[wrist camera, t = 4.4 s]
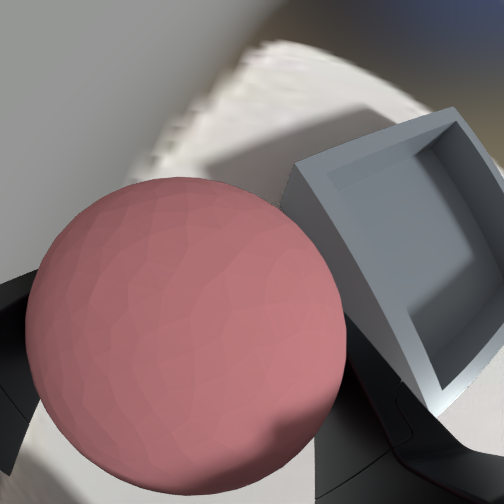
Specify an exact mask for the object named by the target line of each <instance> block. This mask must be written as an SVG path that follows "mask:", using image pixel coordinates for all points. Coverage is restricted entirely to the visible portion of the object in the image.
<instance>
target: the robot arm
mask: <svg viewBox="0 0 504 504" xmlns="http://www.w3.org/2000/svg"><path fill="white" fill-rule="evenodd" d="M37 272H38V269H37V270H34V271H32V272H29V273H27V274H24V275H22V276H19V277H17V278H15V279H12V280H10V281H7V282H5V283H3V284H0V470H1V471H2V472H4V473H5V474H7V475H8V476H10V475H11V472H12V470H13V467H14V464H15V461H16V458H17V455H18V452H19V450H20V447H21V444H22V442H23V439H24V437H25V434H26V432H27V429H28V427H29V423H30V421H31V419H32V417H33V414H34V412H35V410H36V407H37V405H38V403H39V401H40V397H39V395H38V392H37V390H36V388H35V385H34V382H33V378H32V374H31V370H30V365H29V361H28V356H27V351H26V337H25V321H26V311H27V305H28V299H29V295H30V292H31V288H32V285H33V282H34V279H35V277H36V274H37ZM343 314H344V319H345V325H346V361H345V366H344V372H343V377H342V381H341V384H340V388H339V391H338V394H337V397H336V399H335V402H334V404H333V406H332V408H331V411H330V412H329V414H328V416H327V417H326V419H325V421H324V422H323V424H322V426H321V427H320V429H319V430H318V432H317V434H316V435H315V436H314V447H315V504H504V457H503V456H497V455H492V454H487V453H482V452H477V451H474V450H471V449H469V448H467V447H465V446H464V445H463V444H461V443H460V442H459V441H458V440H457V439H456V438H455V437H454V436H453V435H452V434H451V433H450V432H449V431H448V430H447V429H446V428H445V427H444V426H443V425H442V424H441V423H440V422H439V421H438V420H437V419H436V417H435V416H434V415H433V414H432V413H431V412H430V411H429V410H428V409H427V408H426V407H425V406H424V405H423V404H422V403H421V402H420V400H419V399H418V398H417V397H416V396H415V394H414V393H413V392H412V391H411V390H410V389H409V387H408V386H407V385H406V384H405V383H404V381H402V379H401V378H400V377H399V375H398V374H397V373H396V372H395V371H394V369H393V368H392V367H391V366H390V365H389V363H388V362H387V361H386V360H385V359H384V357H383V356H382V355H381V354H380V353H379V351H378V350H377V349H376V348H375V347H374V346H373V344H372V343H371V342H370V341H369V340H368V338H367V337H366V336H365V335H364V334H363V333H362V331H361V330H360V329H359V328H358V327H357V326H356V324H355V323H354V322H353V321H352V320H351V319H350V317H349V316H348V315H347V314H346V313H345V312H344V311H343ZM401 381H402V382H401Z"/></svg>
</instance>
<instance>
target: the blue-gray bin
mask: <svg viewBox="0 0 504 504" xmlns="http://www.w3.org/2000/svg"><path fill="white" fill-rule="evenodd" d="M280 206H281V208H282V209H283V211H284V213H285V214H286V216H287V217H289V218H290V219H291V220H292V221H293V222H294V223H296V224H297V225H298V227H299V228H300V229H301V230H302V231H303V232H304V233H305V234H306V235H307V237H308V238H309V239H310V240H311V241H312V242H313V244H314V245H315V247H316V248H317V250H318V251H319V253H320V254H321V256H322V257H323V259H324V260H325V262H326V264H327V266H328V268H329V270H330V272H331V274H332V276H333V279H334V281H335V284H336V287H337V289H338V292H339V294H340V298H341V303H342V308H343V311H344V312H345V313H346V314H347V315H348V316H349V317H350V319H351V320H352V321H353V322H354V323H355V324H356V326H357V327H358V328H359V329H360V330H361V331H362V333H363V334H364V335H365V336H366V337H367V338H368V340H369V341H370V342H371V343H372V344H373V346H374V347H375V348H376V349H377V350H378V351H379V353H380V354H381V355H382V356H383V357H384V359H385V360H386V361H387V362H388V363H389V365H390V366H391V367H392V368H393V369H394V371H395V372H396V373H397V374H398V375H399V377H400V378H401V379H402V381H404V383H405V384H406V385H407V386H408V387H409V389H410V390H411V391H412V392H413V393H414V394H415V396H416V397H417V398H418V399H419V400H420V402H421V403H422V404H423V405H424V406H425V407H426V408H427V409H428V410H429V411H430V412H431V413H432V414H433V415H434V416H435V417H436V418H437V417H438V416H439V415H440V414H441V413H442V412H443V411H444V410H445V409H446V408H447V407H448V406H449V405H450V404H451V403H452V402H453V401H454V400H455V399H456V398H457V397H458V396H459V395H460V394H461V393H462V392H463V391H464V390H465V389H466V388H467V387H468V386H469V385H470V384H471V383H472V382H473V381H474V379H475V378H476V377H477V376H478V375H479V374H480V373H481V372H482V370H483V369H484V368H485V367H486V366H487V365H488V363H489V362H490V361H491V360H492V359H493V357H494V356H495V355H496V354H497V352H498V351H499V350H500V349H501V347H502V346H503V345H504V179H503V177H502V175H501V174H500V172H499V170H498V169H497V167H496V165H495V164H494V162H493V161H492V159H491V157H490V156H489V154H488V153H487V151H486V150H485V148H484V147H483V145H482V144H481V142H480V141H479V140H478V139H477V137H476V135H475V134H474V133H473V131H472V130H471V128H470V127H469V126H468V124H467V123H466V122H465V120H464V119H463V118H462V117H461V115H460V114H459V113H458V111H457V110H456V109H455V108H454V107H450V108H447V109H443V110H440V111H437V112H434V113H430V114H427V115H424V116H421V117H418V118H415V119H412V120H409V121H405V122H402V123H400V124H397V125H394V126H391V127H388V128H385V129H382V130H379V131H376V132H373V133H371V134H368V135H365V136H362V137H360V138H357V139H354V140H352V141H349V142H346V143H344V144H341V145H338V146H336V147H333V148H330V149H328V150H325V151H323V152H320V153H318V154H315V155H313V156H310V157H308V158H305V159H303V160H300V161H298V162H295V163H294V166H293V168H292V171H291V174H290V177H289V180H288V183H287V186H286V188H285V191H284V194H283V197H282V200H281V203H280ZM402 381H401V382H402Z"/></svg>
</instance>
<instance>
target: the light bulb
mask: <svg viewBox="0 0 504 504" xmlns="http://www.w3.org/2000/svg"><path fill="white" fill-rule="evenodd" d="M25 337H26V351H27V356H28V361H29V365H30V370H31V374H32V378H33V382H34V385H35V388H36V390H37V392H38V395H39V397H40V399H41V401H42V403H43V405H44V407H45V409H46V411H47V413H48V414H49V416H50V417H51V419H52V420H53V422H54V423H55V425H56V426H57V428H58V429H59V431H60V432H61V433H62V434H63V435H64V436H65V438H66V439H67V440H68V441H69V442H70V443H71V444H72V445H73V446H74V447H75V448H76V449H77V450H78V451H79V452H80V453H81V454H82V455H83V456H84V457H86V458H87V459H88V460H90V461H91V462H93V463H94V464H95V465H97V466H98V467H100V468H101V469H102V470H104V471H106V472H107V473H109V474H111V475H112V476H114V477H116V478H118V479H120V480H122V481H125V482H127V483H129V484H132V485H134V486H137V487H140V488H143V489H147V490H151V491H155V492H160V493H166V494H172V495H184V496H191V495H210V494H217V493H222V492H226V491H231V490H236V489H239V488H242V487H244V486H247V485H250V484H252V483H255V482H257V481H259V480H261V479H263V478H264V477H266V476H268V475H270V474H272V473H273V472H275V471H277V470H278V469H280V468H282V467H283V466H284V465H286V464H287V463H288V462H289V461H290V460H291V459H293V458H294V457H295V456H296V455H297V454H298V453H299V452H300V451H301V450H302V449H303V448H304V447H305V446H306V445H307V444H308V443H309V442H310V441H311V440H312V438H313V437H314V436H315V435H316V434H317V432H318V430H319V429H320V427H321V426H322V424H323V422H324V421H325V419H326V417H327V416H328V414H329V412H330V411H331V408H332V406H333V404H334V402H335V399H336V397H337V394H338V391H339V388H340V384H341V381H342V377H343V372H344V366H345V361H346V325H345V319H344V314H343V308H342V303H341V298H340V294H339V292H338V289H337V287H336V284H335V281H334V279H333V276H332V274H331V272H330V270H329V268H328V266H327V264H326V262H325V260H324V259H323V257H322V256H321V254H320V253H319V251H318V250H317V248H316V247H315V245H314V244H313V242H312V241H311V240H310V239H309V238H308V237H307V235H306V234H305V233H304V232H303V231H302V230H301V229H300V228H299V227H298V225H297V224H296V223H294V222H293V221H292V220H291V219H290V218H289V217H287V216H286V215H285V214H284V213H283V212H282V211H280V210H279V209H278V208H276V207H275V206H273V205H271V204H270V203H268V202H266V201H265V200H263V199H261V198H260V197H258V196H256V195H255V194H252V193H250V192H247V191H245V190H242V189H240V188H237V187H234V186H232V185H229V184H226V183H223V182H218V181H212V180H207V179H201V178H190V177H172V178H161V179H152V180H148V181H144V182H140V183H136V184H132V185H129V186H126V187H124V188H122V189H119V190H117V191H115V192H112V193H110V194H108V195H106V196H104V197H102V198H101V199H99V200H98V201H96V202H95V203H93V204H92V205H91V206H89V207H88V208H86V209H85V210H84V211H82V212H81V213H79V214H78V215H77V216H76V217H75V218H74V219H73V220H72V221H71V222H70V223H69V224H68V225H67V226H66V228H65V229H64V230H63V231H62V232H61V233H60V234H59V235H58V236H57V237H56V239H55V240H54V242H53V243H52V245H51V247H50V248H49V250H48V251H47V253H46V255H45V257H44V258H43V260H42V262H41V264H40V267H39V269H38V272H37V274H36V277H35V279H34V282H33V285H32V288H31V292H30V295H29V299H28V305H27V311H26V321H25Z"/></svg>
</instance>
